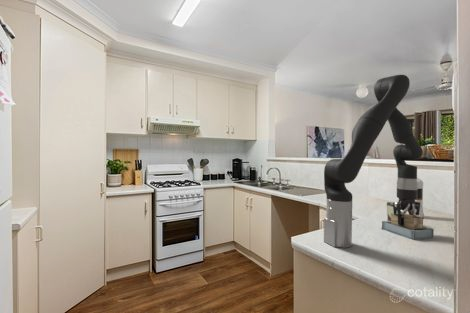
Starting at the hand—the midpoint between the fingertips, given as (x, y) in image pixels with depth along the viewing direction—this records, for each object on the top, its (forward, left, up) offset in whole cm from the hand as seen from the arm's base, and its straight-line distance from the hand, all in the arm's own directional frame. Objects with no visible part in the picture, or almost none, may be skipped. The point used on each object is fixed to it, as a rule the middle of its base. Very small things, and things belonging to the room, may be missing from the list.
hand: (406, 224), depth 102 cm
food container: (+12, +13, -4) cm, 18 cm away
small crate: (0, 0, -1) cm, 1 cm away
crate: (0, 0, -4) cm, 4 cm away
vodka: (+36, +22, -4) cm, 42 cm away
